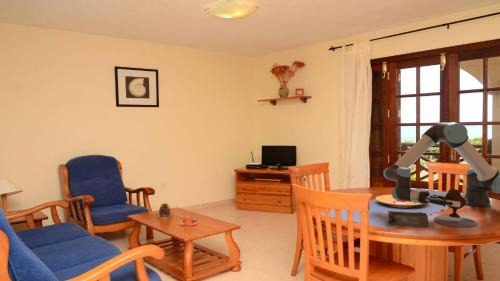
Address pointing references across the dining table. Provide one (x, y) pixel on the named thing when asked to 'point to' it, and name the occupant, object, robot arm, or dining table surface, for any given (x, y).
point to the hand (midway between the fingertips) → (463, 202)
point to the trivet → (455, 221)
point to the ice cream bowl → (455, 196)
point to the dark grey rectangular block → (408, 219)
